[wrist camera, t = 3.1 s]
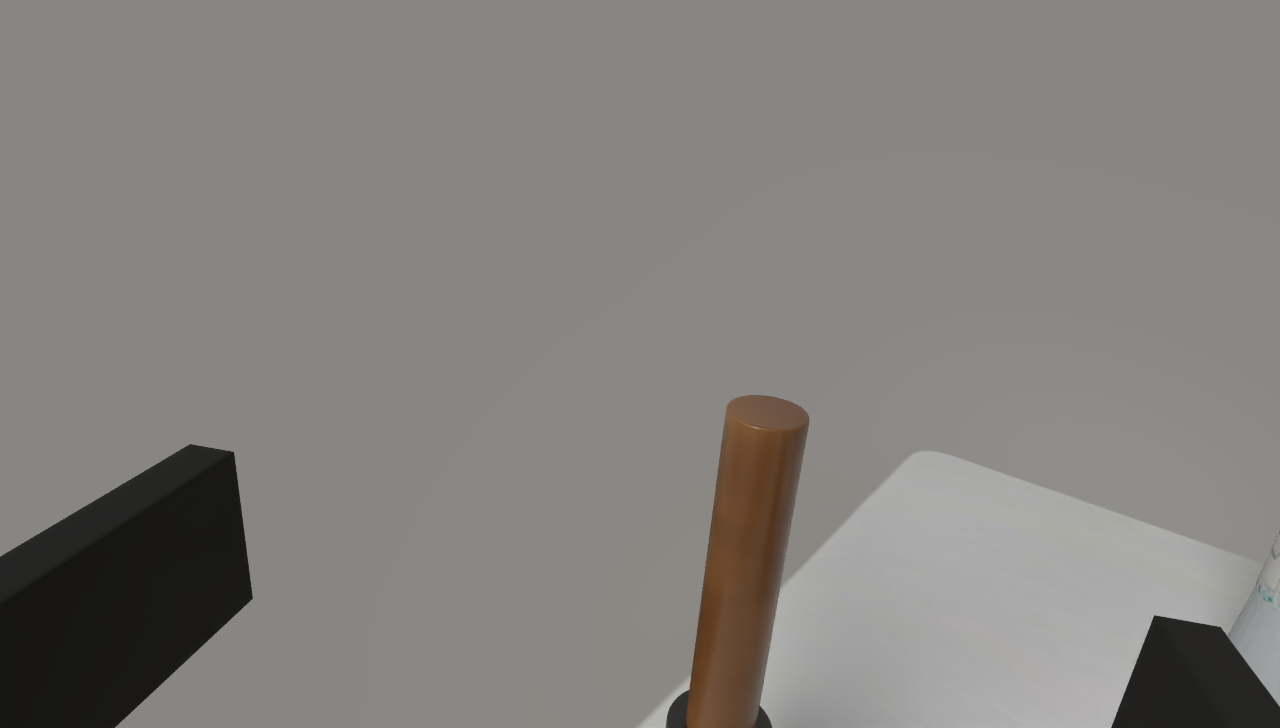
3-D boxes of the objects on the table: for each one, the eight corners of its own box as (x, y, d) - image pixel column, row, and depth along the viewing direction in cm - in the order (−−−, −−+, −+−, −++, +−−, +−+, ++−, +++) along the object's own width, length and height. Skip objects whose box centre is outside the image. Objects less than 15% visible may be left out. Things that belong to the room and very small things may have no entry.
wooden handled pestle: (660, 909, 30) (721, 440, 22) (644, 814, 33) (692, 385, 26) (761, 899, 30) (853, 440, 23) (734, 807, 34) (806, 386, 27)
